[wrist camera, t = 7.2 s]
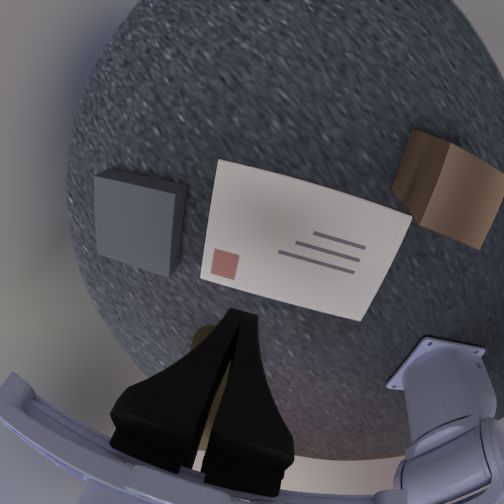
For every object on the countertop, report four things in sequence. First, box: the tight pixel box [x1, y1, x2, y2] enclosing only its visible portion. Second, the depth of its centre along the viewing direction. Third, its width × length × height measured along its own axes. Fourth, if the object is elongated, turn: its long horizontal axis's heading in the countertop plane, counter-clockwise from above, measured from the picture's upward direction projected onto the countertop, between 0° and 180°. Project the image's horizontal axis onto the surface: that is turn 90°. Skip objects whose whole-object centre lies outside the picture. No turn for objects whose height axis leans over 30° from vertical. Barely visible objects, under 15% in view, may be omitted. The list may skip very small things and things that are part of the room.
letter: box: [200, 159, 413, 321], centre depth 21 cm, size 14×10×1 cm
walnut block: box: [391, 129, 504, 250], centre depth 14 cm, size 4×4×6 cm
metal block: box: [94, 168, 187, 278], centre depth 22 cm, size 7×7×2 cm
